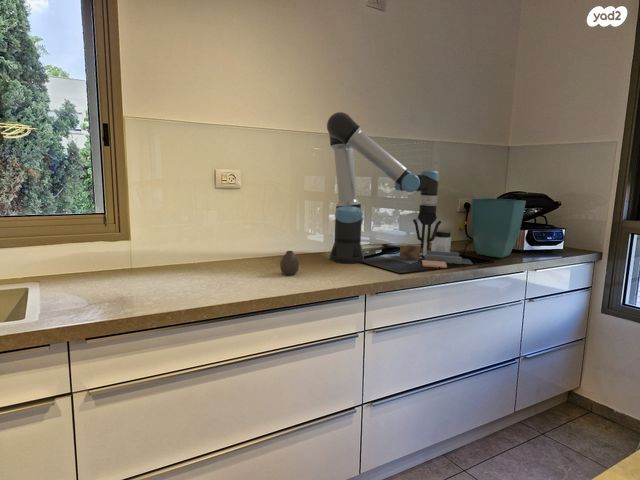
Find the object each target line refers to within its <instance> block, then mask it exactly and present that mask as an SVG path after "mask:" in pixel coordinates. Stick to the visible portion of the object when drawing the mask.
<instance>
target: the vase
mask: <svg viewBox="0 0 640 480" xmlns="http://www.w3.org/2000/svg"><path fill="white" fill-rule="evenodd" d="M279 266H280V267H279V268H280V271H281V272H282V274H283V275H285V276H287V277H288V276H295V275H296V274H297V273H298V271H299V268H300V267H299V266H300V262H299V258H298V257H297V255H296V254H295V252H294V251H293V250H286V252H285V254H284V255H283V256H282V257H281V259H280V265H279Z"/></svg>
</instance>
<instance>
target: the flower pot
mask: <svg viewBox="0 0 640 480" xmlns="http://www.w3.org/2000/svg"><path fill="white" fill-rule="evenodd" d="M471 202H472V203H471V204H472V205H471V206H472V207H471V210H472V211H471V232H472V240H473V241H472V242H473V245H474V248H475V249H474V250H475V252H476V254H477V255H480V256H487V257H493V258H499V259H502V258H505V257H508V256H510V255H511V253H512V250H513V249H514V247H515V244H516V242H517V240H518V237H519V233H520V231H521V227H522V222H523V218H524V212H525V207H526V203H527V201H526V200H521V199H520V200H518V199H506V198H504V199H503V198H491V197H489V198H487V197H482V198H481V197H480V198H479V197H478V198H477V197H476V198H472V201H471Z"/></svg>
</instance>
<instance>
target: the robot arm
mask: <svg viewBox="0 0 640 480" xmlns="http://www.w3.org/2000/svg"><path fill="white" fill-rule="evenodd" d="M326 129H327V132H328V135H329V136H328V137H329V144H330V148H331V149H333V153H334V161H335V162H334V163H335V165H334V166H335V175H336V185H337V194H338V195H337V196H338V202H337V203H336V204H335V208H336V210H335V213H334V217H335V218H334V242H333V245H332V248H331V251H330V253H329V260H330V261H332V262H335V263H343V264H360V263H363V262H364V261H365V255H364V251H363V248H362V243H361V241H362V239H361V238H362V225H363V221H364V220H363V210H362V205H361V204H362V203H361V202H360V201H359V200H358V197H357V193H358V192H357V184H356V174H355V172H356V171H355V162H354V159H355V158H354V150H356V151H357V152H358V153H359V154H360V155H361V156H363V157H364V158H365V159H366V160H368V162H370V163H371V164H372V165H374V166H375V167H376V168H377V169H378V170H380V171H381V172H382V173H383V174H384V175H386V176H387V177H388V178H390V179H391V180H392V181H393V182H394V190H395V191H400V192H403V191H404V192H407V193H413V192H420V197H419V204H420V205H419V211H418V215H417V217H416V218H414V219H412V222H413V224H414V225H415V226H414V227H415V231H416V232H415V233H416V237H417V238H416V239H417V240H418V241H420V245H421V246H420V249H422V256H423V257H424V256H425V254H426V251H428V249H430V243H431V242H432V241H433V240H434V238H435V235H436V232H437V230H439V226H440V225H441V223H442V221H441V219H438V217H437V203H438V193H439V182H440V181H439V178H440V176H439V175H440V174H439V171H437V170H422V172H421V174H415V173H414V172H412V171H410V169H408V168H407V167H406V166H404V164H402V163H401V162H400V161H398V160H397V159H396V158H395V157H394V156H392V155H391V154H390V153H389V152H387V150H385V149H384V148H382V147H381V146H380V145H379V144H378V143H377V142H376V141H374V140H373V139H372V138H371V137H369V136H368V135H367V134H365V132H363V131H362V127H361V126H360V125H359V124H358V123H356V122H355V121H354V120H353V118H352V117H351V116H350V115H349V114H347V113H345V112H343V111H339V112H335V113H333V114H331V115H330V116H329V118H328V120H327V122H326ZM353 149H354V150H353ZM419 222H420V224H421V225H422V226H421V227H422V228H421V235H420V228H419V224H418V223H419ZM434 223H435V225H434V229H433V231H432V233H431V230H432V229H431V228H432V225H433V224H434ZM426 225H427V234H426V235H427V236H426V240H425V232H426Z"/></svg>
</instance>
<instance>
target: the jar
mask: <svg viewBox="0 0 640 480" xmlns="http://www.w3.org/2000/svg"><path fill="white" fill-rule="evenodd" d="M451 235H452V233H451V231H449V230H442V229H437V232H436V235H435V238H434V240H433V241H431V247H430V249H431V250H430V251H439V252H451V245H452V244H451V243H452V237H451Z"/></svg>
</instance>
